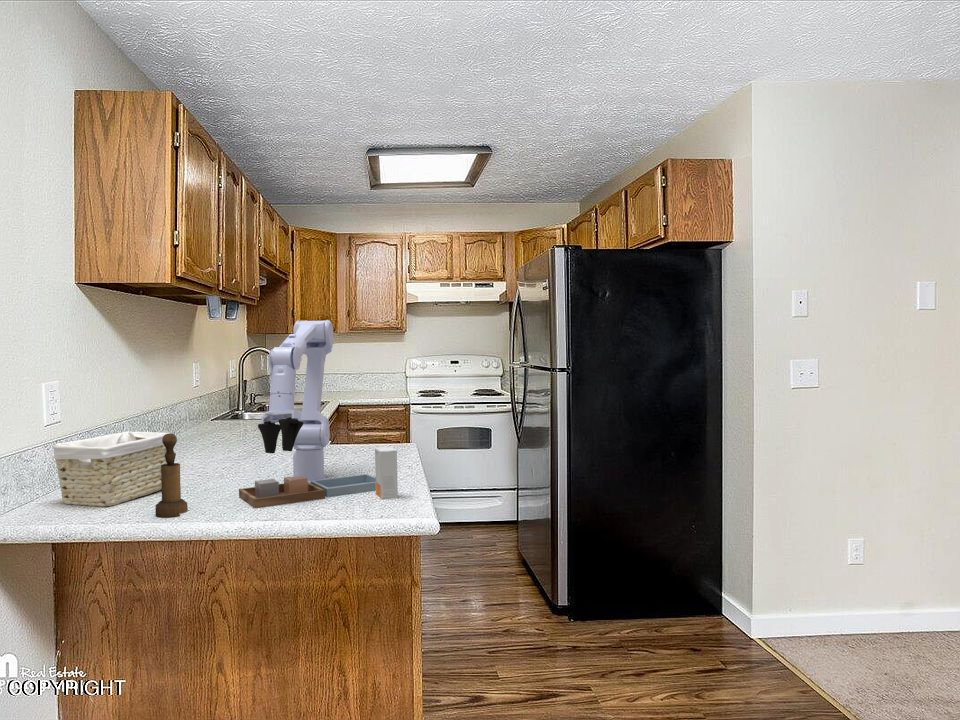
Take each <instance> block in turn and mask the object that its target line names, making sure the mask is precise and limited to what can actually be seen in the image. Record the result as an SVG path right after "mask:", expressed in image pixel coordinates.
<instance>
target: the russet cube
mask: <svg viewBox="0 0 960 720" xmlns="http://www.w3.org/2000/svg"><path fill="white" fill-rule="evenodd" d="M283 484H284V495H286V494H294V493H301V492H308V479H307V478H306V477H304V476H302V475H301V476H294V475H293V476H287V477H283Z"/></svg>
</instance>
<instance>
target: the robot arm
mask: <svg viewBox="0 0 960 720" xmlns="http://www.w3.org/2000/svg"><path fill="white" fill-rule="evenodd" d="M333 326H334V325H333V323H332V322H331V320H330V319H325V320H300V319H299V320H298V319H297V320H296V321H295V323H294V325H293V328H292V329H293V331H292V332H293V333H290V334H289V335H288V336H287V337H286V338H285V339H284V340H283V342H282V343H281V344H280V345H279V347H278V346H275V347H273V348H271V349H270V351H269V354H268V367H269V376H270V391H269V405H268V406H269V407H268V411H264V415H262V416H261V421H260V422H261V423H258V424H257V428H258V430H259V432H260V434H261V437H262V441H263V445H264V452H265V453H266V454H275V452H276V451H277V443H278V439H279V438H278V437H279V435H280V432H281V447H282V451H284V452H293V449H294V450H295V451H294V453H293V455H292V467H293V469H292V471H293V474H292V475H293V476H301V475H302V476H304V477H306V478H307V479H308V482H309V483H310V481H314V480H322V479H329V478H328V477H326V476H325V461H324V460H325V459H324V458H325V457H324V456H325V455H324V448H325V447H327V446H328V444H329V443H330V437H331V431H330V421H329V419H328V418H327V416H325V415H324V414H322V413H321V405H322V404H321V403H322V396H323V395H322V393H323V385H324V384H323V382H324V372H325V364H326V363H325V362H326V358H327V357H326V356H327V355H328V354H330V353H331V352H332V349H333V346H334V345H333V343H334V327H333ZM303 355H305V356H306V357H307V361H306V368H305V370H306V371H305V378H304V379H305V380H304V390H303V398H302V399H303V401H302V409H301V410H297V409H294V408H295V395H296V393H295V392H296V381H297V380H296V378H297V377H296V376H297V371H298V370H299V369H300V366H301V362H302V356H303ZM276 423H277V424H276Z"/></svg>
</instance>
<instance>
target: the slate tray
mask: <svg viewBox="0 0 960 720" xmlns="http://www.w3.org/2000/svg"><path fill="white" fill-rule="evenodd" d="M309 483H311V484H313V485H315V486H317V487H319V488H321V489H323V490H325V498H332V497H339V496H347V495H348V496H349V495H353V494H355V495H356V494H361V493H369V492H376V478H375V475H372V474H368V473H363V474H356V475H347V476H340V477H339V476H338V477H332V478H328V479H322V480H314V481H310V482H309Z"/></svg>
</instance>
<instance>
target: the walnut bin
mask: <svg viewBox="0 0 960 720" xmlns="http://www.w3.org/2000/svg"><path fill="white" fill-rule="evenodd" d="M238 498H239V499H241V500H242V501H243V502H245V503H246V504H248V505H249V506H250V507H252V508H254V509H260V508H261V509H262V508H267V507H274V506H282V505H283V506H284V505H289V504H290V505H291V504H297V503H302V502H311V501H317V500H325V499H326V497H325V490H323V489H321V488H319V487H317V486H315V485H313V484H311V483H310V482H308V492H301V493H294V494H286V495H284V483H279V496H271V497H264V498H256V497H255V486H253V487H246V488H244V487H243V488H239V489H238Z"/></svg>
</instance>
